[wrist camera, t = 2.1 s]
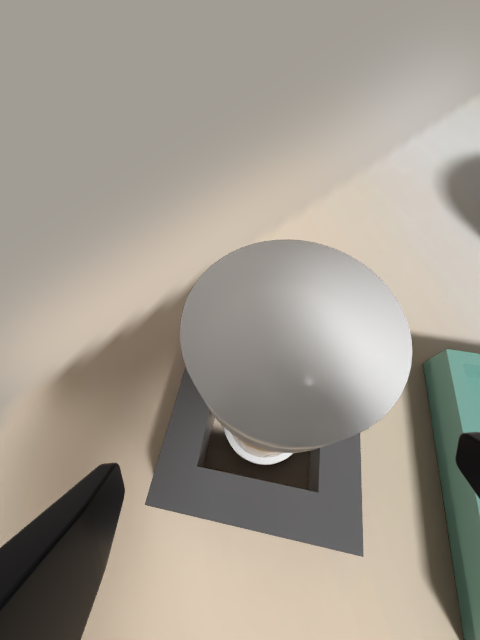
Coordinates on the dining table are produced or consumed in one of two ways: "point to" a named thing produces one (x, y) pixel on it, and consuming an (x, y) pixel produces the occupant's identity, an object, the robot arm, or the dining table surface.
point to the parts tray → (459, 498)
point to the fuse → (294, 347)
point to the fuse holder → (258, 485)
